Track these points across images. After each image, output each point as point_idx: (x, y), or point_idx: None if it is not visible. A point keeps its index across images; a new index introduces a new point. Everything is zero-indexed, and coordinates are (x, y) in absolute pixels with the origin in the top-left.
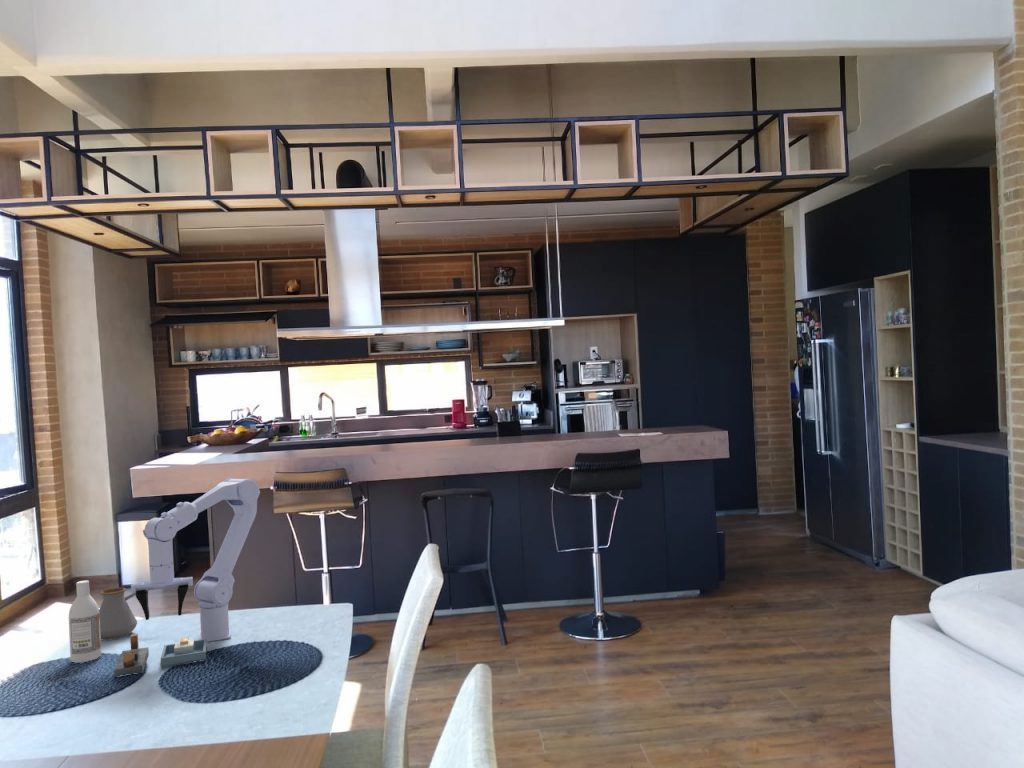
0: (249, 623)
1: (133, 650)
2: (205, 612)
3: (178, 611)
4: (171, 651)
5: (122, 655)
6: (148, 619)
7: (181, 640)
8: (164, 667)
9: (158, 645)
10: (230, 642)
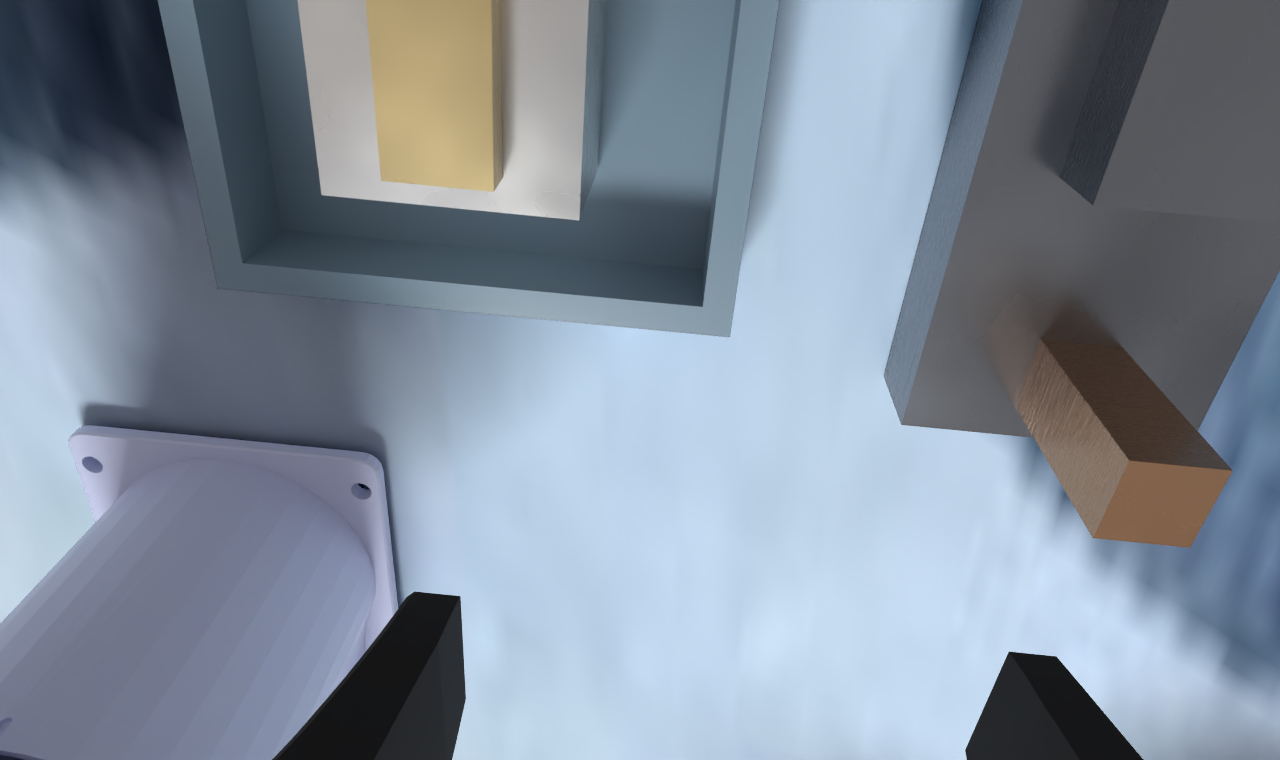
0: None
1: (1193, 154)
2: (151, 734)
3: (425, 649)
4: (651, 268)
5: (1252, 271)
6: (1013, 652)
7: (475, 74)
8: None
9: (760, 605)
10: (46, 305)
